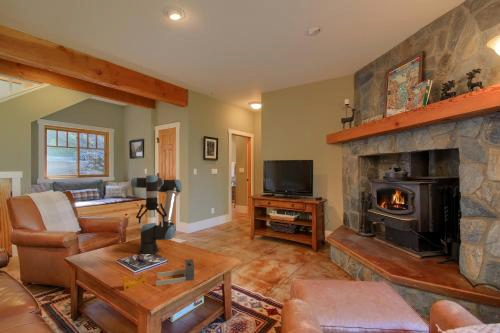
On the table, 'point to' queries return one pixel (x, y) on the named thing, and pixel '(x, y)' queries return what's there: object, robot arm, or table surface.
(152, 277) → the table surface
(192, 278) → the unit housing
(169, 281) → the frame
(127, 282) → the pipe clamp
